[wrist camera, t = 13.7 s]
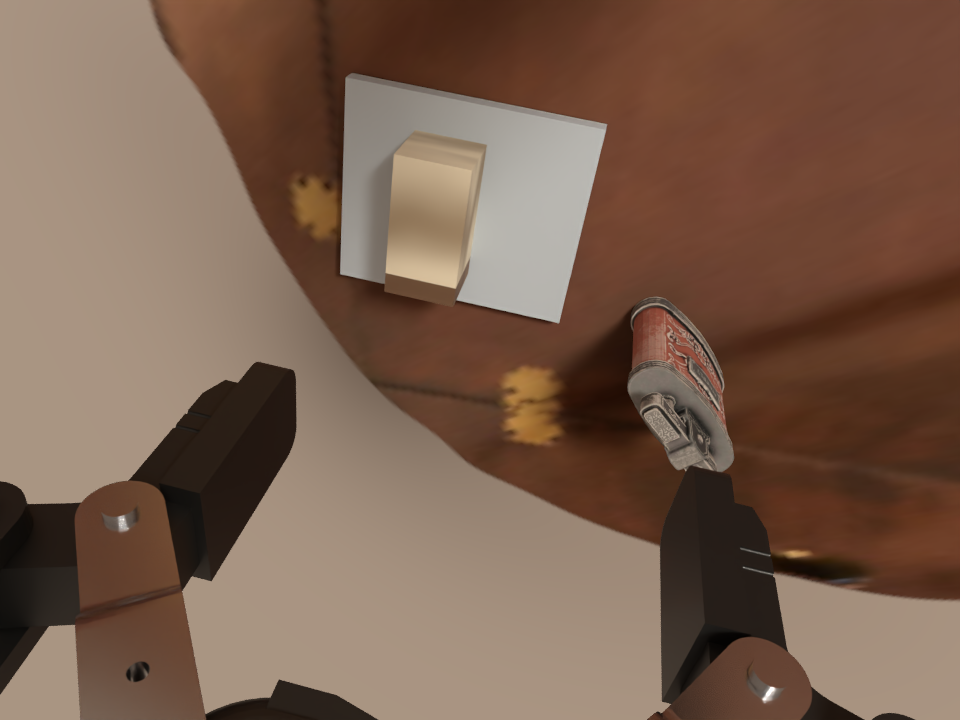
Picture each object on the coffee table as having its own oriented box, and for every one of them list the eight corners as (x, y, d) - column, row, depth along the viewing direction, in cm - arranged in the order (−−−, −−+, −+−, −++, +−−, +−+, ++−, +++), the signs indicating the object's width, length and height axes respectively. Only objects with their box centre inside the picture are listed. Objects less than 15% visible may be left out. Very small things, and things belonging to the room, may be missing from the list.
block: (415, 129, 39) (393, 153, 36) (486, 144, 39) (471, 170, 36) (404, 259, 44) (384, 291, 41) (467, 273, 43) (453, 307, 40)
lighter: (736, 381, 45) (754, 494, 37) (687, 403, 47) (695, 516, 39) (666, 286, 42) (670, 386, 34) (617, 313, 44) (610, 414, 36)
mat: (607, 124, 38) (605, 129, 37) (560, 314, 45) (559, 323, 44) (351, 72, 39) (345, 77, 38) (345, 266, 46) (340, 274, 45)
